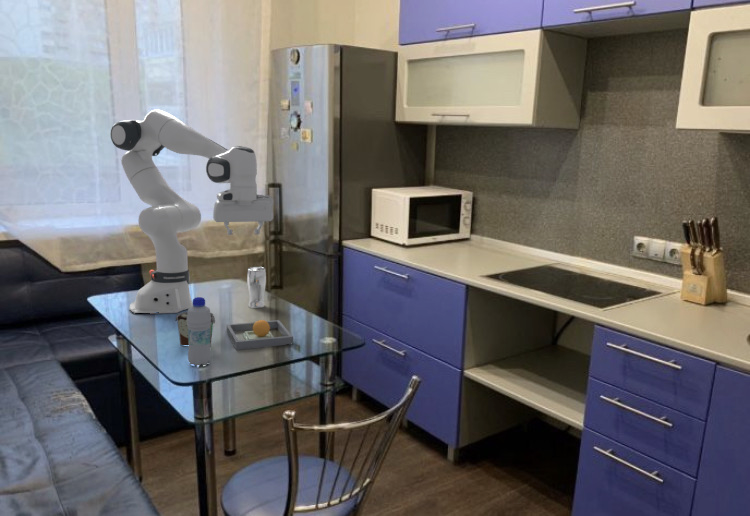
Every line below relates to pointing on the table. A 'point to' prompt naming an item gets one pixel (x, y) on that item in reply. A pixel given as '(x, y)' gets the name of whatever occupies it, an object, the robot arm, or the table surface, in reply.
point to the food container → (183, 327)
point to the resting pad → (250, 335)
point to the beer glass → (256, 286)
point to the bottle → (199, 332)
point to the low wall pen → (258, 343)
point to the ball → (261, 328)
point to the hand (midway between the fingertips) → (243, 234)
